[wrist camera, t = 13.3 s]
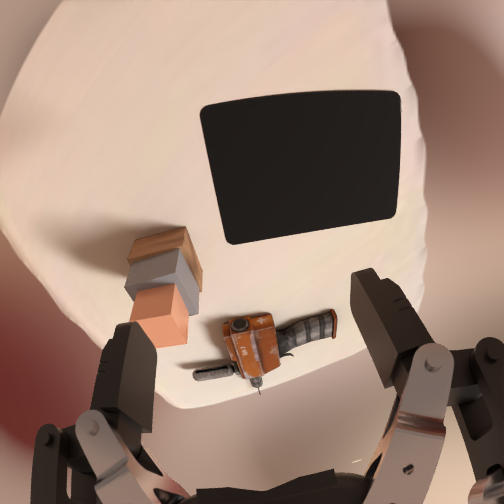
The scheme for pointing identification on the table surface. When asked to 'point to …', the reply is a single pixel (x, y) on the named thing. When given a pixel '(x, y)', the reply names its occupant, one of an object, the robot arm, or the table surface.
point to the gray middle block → (165, 277)
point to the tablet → (303, 161)
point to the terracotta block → (162, 315)
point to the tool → (264, 345)
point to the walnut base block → (168, 249)
